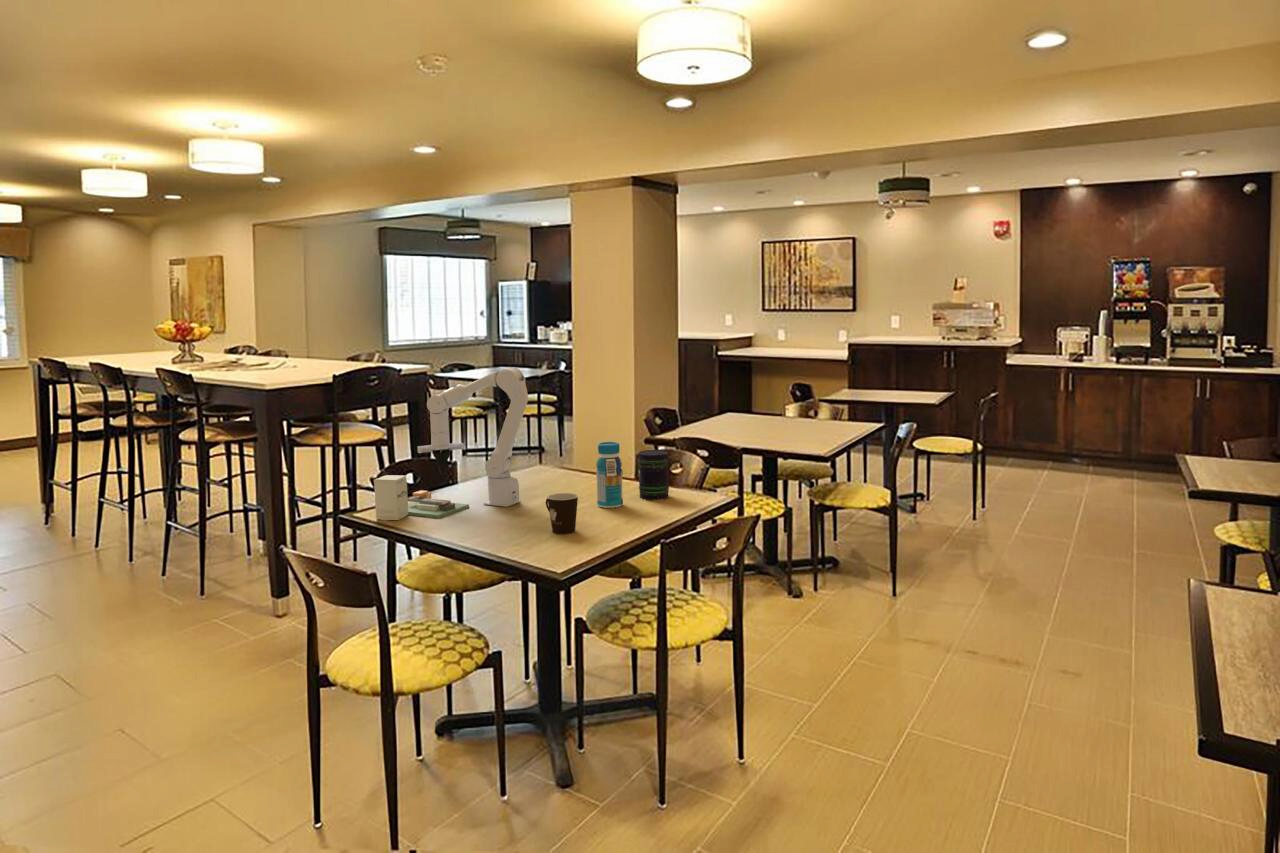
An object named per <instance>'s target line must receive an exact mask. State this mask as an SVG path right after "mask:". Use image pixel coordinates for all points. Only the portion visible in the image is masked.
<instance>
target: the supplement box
mask: <svg viewBox="0 0 1280 853" xmlns="http://www.w3.org/2000/svg"><path fill="white" fill-rule="evenodd" d="M373 484H374V485H373V487H374V489H373V490H374V505H375V520H376V519H381V520H380V521H387V520H398V521H400V520H401V519H403V518H405V517H407V515H408V505H409V501H408V481H407V475H401V474H400V475H398V474H396V475H393V474H391V475H389V474H387V475H383V476H380V477H377V478H376V479H373ZM408 516H409V515H408Z"/></svg>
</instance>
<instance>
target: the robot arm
mask: <svg viewBox="0 0 1280 853" xmlns="http://www.w3.org/2000/svg"><path fill="white" fill-rule="evenodd" d="M526 385H527V384H526V377H525V375H524V374H523V373H522V371H521V370H520V369H519V368H517V367H515V366H512V367H508V368H506V369H501V370H499V371H495V372H492V373H488V374H487V375H484V376H482V377H480V378H478V379H476V380H474V381H471V382H470V383H468V384H466V385H465V384H462V383H459V384H458V383H453V384H452V385H451V387H450V388H448V389H446V390H440V391H439V394H434V395H432V396H430V397H429V398H428V400H427V401H426V408H427V409H428V411H429V415H430V416H429V418H430V419H429V420H430V434H431V435H430V438H431V444H428V445H418V446H417V453H418V454H422V453H432V455H433V457H434V459H435V461H436V464H437V467H438V469H439V470H438V471H439V474H445V473H446V467H447V463H448V460H449V459H450V455H451V451H456V450H457V451H458V450H462V451H463V450H464V449H465V444H464V443H463V442H457V443H456V442H453V443H452V442H451V443H450V425H449V424H450V422H449V409H451V408H454V407H456V406H457V405H460V404H462V403H464V402H466V401H468V400H469V398H470V395H472V394H474V393H476V392H478V391H481V390H483V389H485V388H488V387H494V388H496V387H499V388H500V389H501V390H502V391H504V393H506V395H507V396H508V398H509V399H510V404H509V406H508V410H507V412H506V416H505V419H504V422H503V425H502V428H501V431H500V434H499V437H498V440H497V444H496V445H495V446H496V447H495V448H494V450H493V451H492V453H491V456H490V457H489V459H488V460H487V461H486V462H485V465H484V471H485V472H486V474H487V489H488V490H487V491H488V492H487V493H488V500H487V501H485V502H483V503H482V504H483V505H486V506H487V505H489V506H496V507H506V508H507V507H510V506H513V505H516V504H518V503H520V502H521V499H520V485H519V484H520V483H519V480H518V479H517V478H516V477H512V476H511V472H510V471H509V470H511V467H512V455H513V447H514V444H515V441H516V437H517V434H518V431H519V429H520V425H521V423H522V419H523V417H524V414H525V411H526V407H527V405H528V402H529V395H528V388H527V386H526Z"/></svg>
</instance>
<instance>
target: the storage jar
mask: <svg viewBox="0 0 1280 853" xmlns="http://www.w3.org/2000/svg"><path fill="white" fill-rule="evenodd" d="M638 470H639V481H638V490H639V499H641V498H642V499H641V500H644V499H646V500H645V501H663V500H666V498H667V499H669V497H670V496H669V491H670V485H669V484H670V483H669V478H668V476H669V475H668V474H669V471H668V470H669V451H668V450H663V449H662V450H661V449H646V450H645V449H644V450H642V451H638ZM662 499H663V500H662Z"/></svg>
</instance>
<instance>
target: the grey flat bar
mask: <svg viewBox="0 0 1280 853" xmlns="http://www.w3.org/2000/svg"><path fill="white" fill-rule="evenodd" d="M408 502H410V503H411V502H412V503H416V502H419V503H428V504H437V505H445V504H448V503H452V501H451V500H448V499H446V500H445V499H438V498H431V499H430V498H421V497H419V496H412V497H409V498H408Z"/></svg>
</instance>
